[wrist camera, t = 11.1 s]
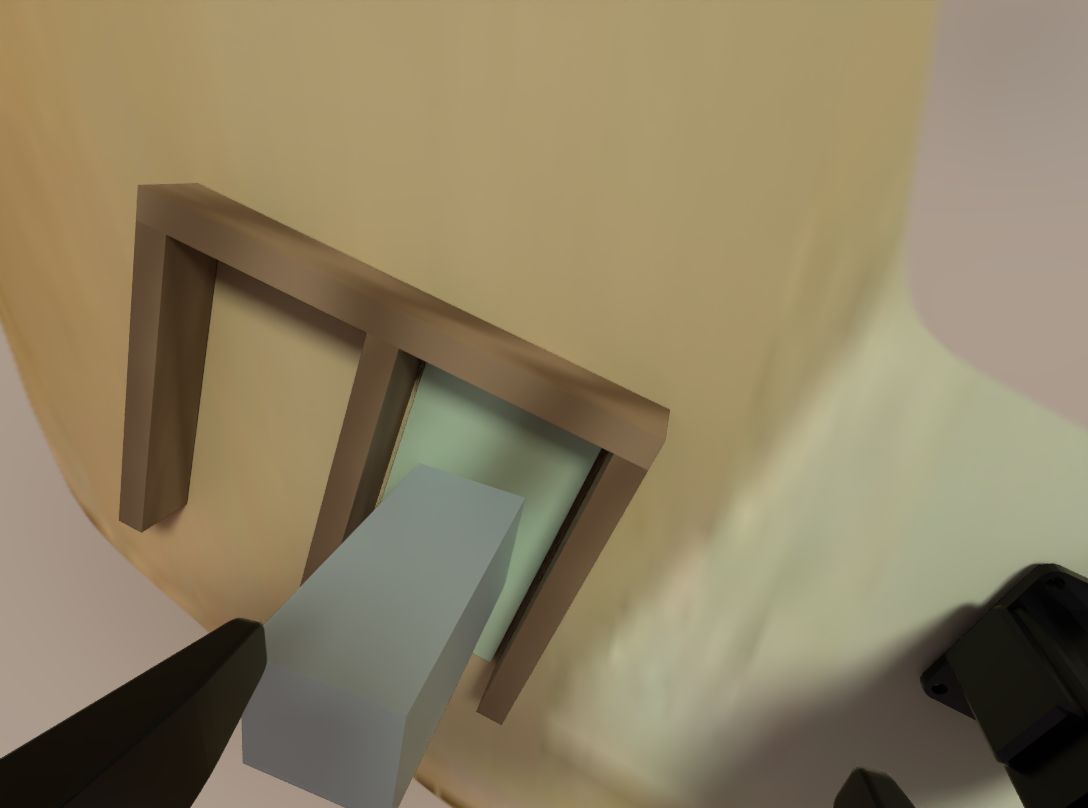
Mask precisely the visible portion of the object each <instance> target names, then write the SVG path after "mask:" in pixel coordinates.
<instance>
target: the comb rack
mask: <svg viewBox="0 0 1088 808" xmlns="http://www.w3.org/2000/svg"><path fill="white" fill-rule="evenodd" d="M217 260H219V261H221V262H223V263H225V264H227V265H229V266H231V267H233V268H236V269H238V270H240V271H242V272H244V273H246V274H248V275H250V276H252V277H254V278H256V279H258V280H260V281H262V282H264V283H266V284H268V285H270V286H272V287H274V288H276V289H278V290H280V291H283V292H285V293H287V294H289V295H291V296H293V297H295V298H297V299H299V300H301V301H303V302H305V303H307V304H309V305H311V306H313V307H315V308H317V309H319V310H321V311H323V312H325V313H327V314H330V315H332V316H334V317H336V318H338V319H340V320H342V321H344V322H346V323H348V324H350V325H352V326H354V327H356V328H358V329H360V330H362V331H364V332H366V333H367V334H366V338H365V342H364V346H363V350H362V353H361V357H360V361H359V365H358V369H357V372H356V376H355V380H354V384H353V388H352V391H351V395H350V399H349V403H348V407H347V410H346V414H345V418H344V422H343V426H342V429H341V433H340V437H339V441H338V445H337V448H336V452H335V456H334V460H333V464H332V467H331V471H330V475H329V479H328V483H327V486H326V490H325V494H324V498H323V502H322V505H321V509H320V513H319V517H318V521H317V524H316V528H315V532H314V536H313V540H312V543H311V547H310V551H309V555H308V559H307V562H306V566H305V570H304V574H303V578H302V581H301V585H300V587H301V586H302V585H303V584H304V583H305V581H306V580H307V579H308V578H309V577H310V576H311V575H312V574H313V573H314V572H315V571H316V570H317V569H318V568H319V567H320V566H321V565H322V564H323V563H324V562H325V561H326V560H327V559H328V558H329V557H330V556H331V555H332V554H333V552H334V551H335V550H336V549H337V548H338V547H339V546H340V545H341V544H342V543H343V542H344V541H345V540H346V539H347V538H348V537H349V536H350V535H351V534H352V533H353V532H354V531H355V530H356V529H357V528H358V527H359V526H360V525H361V523H362V522H363V521H364V520H365V519H366V518H367V517H368V516H369V515H370V514H371V513H372V512H373V511H374V508H375V505H376V501H377V498H378V495H379V492H380V489H381V486H382V483H383V479H384V476H385V473H386V470H387V467H388V464H389V461H390V457H391V454H392V451H393V448H394V445H395V442H396V439H397V435H398V432H399V429H400V426H401V423H402V420H403V417H404V413H405V410H406V407H407V404H408V401H409V398H410V395H411V391H412V388H413V385H414V382H415V379H416V376H417V373H418V369H419V366H420V363H421V360H424V361H426V365H425V368H424V371H423V374H422V377H421V380H420V383H419V386H418V389H417V392H416V396H415V399H414V402H413V405H412V408H411V411H410V414H409V417H408V420H407V423H406V426H405V430H404V433H403V436H402V439H401V442H400V445H399V448H398V451H397V454H396V457H395V461H394V464H393V467H392V470H391V473H390V476H389V479H388V482H387V485H386V488H385V491H384V495H383V498H382V501H381V503H382V502H383V501H384V500H385V499H386V498H387V497H388V495H389V494H390V493H391V492H392V491H393V490H394V489H395V488H396V487H397V486H398V485H399V484H400V483H401V482H402V481H403V480H404V479H405V478H406V477H407V476H408V475H409V474H410V473H411V472H412V471H413V470H414V469H415V468H416V466H417V465H418V464H419V463H421V464H424V465H427V466H430V467H433V468H436V469H439V470H442V471H445V472H448V473H451V474H454V475H457V476H460V477H463V478H466V479H469V480H472V481H476V482H479V483H482V484H485V485H488V486H491V487H494V488H497V489H500V490H503V491H506V492H509V493H512V494H515V495H518V496H521V497H524V498H525V501H524V505H523V510H522V514H521V518H520V523H519V527H518V531H517V535H516V540H515V544H514V548H513V553H512V557H511V561H510V565H509V570H508V574H507V578H506V583H505V586H504V588H503V590H502V592H501V594H500V596H499V598H498V600H497V602H496V605H495V607H494V609H493V611H492V613H491V615H490V617H489V619H488V621H487V623H486V625H485V627H484V630H483V632H482V634H481V636H480V638H479V640H478V642H477V644H476V646H475V648H474V650H473V652H472V653H473V654H475V655H477V656H479V657H481V658H483V659H484V660H486V661H488V662H491V660H492V658H493V656H494V654H495V652H496V651H497V649H498V647H499V645H500V643H501V641H502V639H503V637H504V635H505V633H506V631H507V629H508V627H509V626H510V624H511V622H512V620H513V618H514V616H515V614H516V612H517V610H518V608H519V606H520V604H521V602H522V601H523V599H524V597H525V595H526V593H527V591H528V589H529V587H530V585H531V583H532V581H533V579H534V577H535V575H536V574H537V572H538V570H539V568H540V566H541V564H542V562H543V560H544V558H545V556H546V554H547V552H548V550H549V549H550V547H551V545H552V543H553V541H554V539H555V537H556V535H557V533H558V531H559V529H560V527H561V525H562V523H563V522H564V520H565V518H566V516H567V514H568V512H569V510H570V508H571V506H572V504H573V502H574V500H575V498H576V497H577V495H578V493H579V491H580V489H581V487H582V485H583V483H584V481H585V479H586V477H587V475H588V473H589V471H590V470H591V468H592V466H593V464H594V462H595V460H596V458H597V456H598V454H599V452H600V450H601V448H603V449H605V450H607V451H609V452H608V454H607V455H606V457H605V459H604V461H603V463H602V465H601V467H600V469H599V471H598V473H597V474H596V476H595V478H594V480H593V482H592V484H591V486H590V488H589V490H588V491H587V493H586V495H585V497H584V499H583V501H582V503H581V505H580V507H579V509H578V510H577V512H576V514H575V516H574V518H573V520H572V522H571V524H570V526H569V527H568V529H567V531H566V533H565V535H564V537H563V539H562V541H561V543H560V545H559V546H558V548H557V550H556V552H555V554H554V556H553V558H552V560H551V562H550V563H549V565H548V567H547V569H546V571H545V573H544V575H543V577H542V579H541V581H540V582H539V584H538V586H537V588H536V590H535V592H534V594H533V596H532V598H531V599H530V601H529V603H528V605H527V607H526V609H525V611H524V613H523V615H522V617H521V618H520V620H519V622H518V624H517V626H516V628H515V630H514V632H513V634H512V635H511V637H510V639H509V641H508V643H507V645H506V647H505V649H504V651H503V653H502V654H501V656H500V658H499V660H498V662H497V664H496V666H495V668H494V670H493V673H492V675H491V678H490V680H489V682H488V685H487V687H486V690H485V692H484V694H483V697H482V699H481V701H480V704H479V706H478V709H477V711H476V712H478V713H480V714H482V715H484V716H486V717H487V718H489V719H491V720H493V721H495V722H497V723H499V724H500V725H502V723H503V721H504V720H505V718H506V716H507V714H508V713H509V711H510V709H511V707H512V706H513V704H514V702H515V701H516V699H517V697H518V695H519V694H520V692H521V690H522V688H523V687H524V685H525V683H526V681H527V680H528V678H529V676H530V675H531V673H532V671H533V669H534V668H535V666H536V664H537V662H538V661H539V659H540V657H541V655H542V654H543V652H544V650H545V649H546V647H547V645H548V643H549V642H550V640H551V638H552V636H553V635H554V633H555V631H556V629H557V628H558V626H559V624H560V622H561V621H562V619H563V617H564V616H565V614H566V612H567V610H568V609H569V607H570V605H571V603H572V602H573V600H574V598H575V596H576V595H577V593H578V591H579V590H580V588H581V586H582V584H583V583H584V581H585V579H586V577H587V576H588V574H589V572H590V570H591V569H592V567H593V565H594V564H595V562H596V560H597V558H598V557H599V555H600V553H601V551H602V550H603V548H604V546H605V544H606V543H607V541H608V539H609V538H610V536H611V534H612V532H613V531H614V529H615V527H616V525H617V524H618V522H619V520H620V518H621V517H622V515H623V513H624V512H625V510H626V508H627V506H628V505H629V503H630V501H631V499H632V498H633V496H634V494H635V492H636V491H637V489H638V487H639V486H640V484H641V482H642V480H643V479H644V477H645V475H646V473H647V472H648V470H649V468H650V466H651V465H652V463H653V461H654V460H655V458H656V456H657V454H658V453H659V451H660V449H661V447H662V446H663V444H664V442H665V440H666V434H667V427H668V420H669V413H670V410H669V409H667V408H665V407H663V406H661V405H659V404H657V403H655V402H653V401H650V400H648V399H646V398H644V397H642V396H640V395H638V394H636V393H634V392H632V391H630V390H627V389H625V388H623V387H621V386H619V385H617V384H615V383H613V382H611V381H609V380H607V379H605V378H602V377H600V376H598V375H596V374H594V373H592V372H590V371H588V370H586V369H584V368H582V367H580V366H577V365H575V364H573V363H571V362H569V361H567V360H565V359H563V358H561V357H559V356H557V355H555V354H552V353H550V352H548V351H546V350H544V349H542V348H540V347H538V346H536V345H534V344H532V343H529V342H527V341H525V340H523V339H521V338H519V337H517V336H515V335H513V334H511V333H509V332H507V331H504V330H502V329H500V328H498V327H496V326H494V325H492V324H490V323H488V322H486V321H484V320H482V319H479V318H477V317H475V316H473V315H471V314H469V313H467V312H465V311H463V310H461V309H459V308H457V307H454V306H452V305H450V304H448V303H446V302H444V301H442V300H440V299H438V298H436V297H434V296H432V295H429V294H427V293H425V292H423V291H421V290H419V289H417V288H415V287H413V286H411V285H409V284H406V283H404V282H402V281H400V280H398V279H396V278H394V277H392V276H390V275H388V274H386V273H384V272H381V271H379V270H377V269H375V268H373V267H371V266H369V265H367V264H365V263H363V262H361V261H359V260H356V259H354V258H352V257H350V256H348V255H346V254H344V253H342V252H340V251H338V250H336V249H334V248H331V247H329V246H327V245H325V244H323V243H321V242H319V241H317V240H315V239H313V238H311V237H309V236H306V235H304V234H302V233H300V232H298V231H296V230H294V229H292V228H290V227H288V226H286V225H283V224H281V223H279V222H277V221H275V220H273V219H271V218H269V217H267V216H265V215H263V214H261V213H258V212H256V211H254V210H252V209H250V208H248V207H246V206H244V205H242V204H240V203H238V202H236V201H233V200H231V199H229V198H227V197H225V196H223V195H221V194H219V193H217V192H215V191H213V190H211V189H208V188H206V187H204V186H202V185H200V184H198V183H188V184H156V185H138V194H137V211H136V229H135V247H134V264H133V282H132V299H131V317H130V335H129V352H128V370H127V387H126V405H125V423H124V440H123V458H122V475H121V493H120V511H119V521H121V522H123V523H125V524H126V525H128V526H130V527H132V528H134V529H136V530H138V531H139V532H141V533H142V532H143V531H145V530H147V529H148V528H150V527H151V526H153V525H154V524H156V523H157V522H159V521H160V520H162V519H164V518H165V517H167V516H168V515H170V514H171V513H173V512H174V511H176V510H177V509H179V508H180V507H182V506H184V505H185V504H187V498H188V490H189V482H190V474H191V466H192V458H193V450H194V442H195V434H196V426H197V418H198V410H199V402H200V394H201V386H202V378H203V370H204V362H205V354H206V346H207V338H208V330H209V322H210V314H211V306H212V298H213V290H214V282H215V274H216V266H217Z"/></svg>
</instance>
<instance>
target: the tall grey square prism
mask: <svg viewBox="0 0 1088 808" xmlns="http://www.w3.org/2000/svg"><path fill="white" fill-rule="evenodd" d="M524 501H525V498H524V497H521V496H518V495H515V494H512V493H509V492H506V491H503V490H500V489H497V488H494V487H491V486H488V485H485V484H482V483H479V482H476V481H472V480H469V479H466V478H463V477H460V476H457V475H454V474H451V473H448V472H445V471H442V470H439V469H436V468H433V467H430V466H427V465H424V464H421V463H419V464H418V465H417V466H416V468H415V469H414V470H413V471H412V472H411V473H410V474H409V475H408V476H407V477H406V478H405V479H404V480H403V481H402V482H401V483H400V484H399V485H398V486H397V487H396V488H395V489H394V490H393V491H392V492H391V493H390V494H389V495H388V497H387V498H386V499H385V500H384V501H383V502H382V503H381V504H380V505H379V506H378V507H377V508H376V509H375V510H374V511H373V512H372V513H371V514H370V515H369V516H368V517H367V518H366V519H365V520H364V521H363V522H362V523H361V525H360V526H359V527H358V528H357V529H356V530H355V531H354V532H353V533H352V534H351V535H350V536H349V537H348V538H347V539H346V540H345V541H344V542H343V543H342V544H341V545H340V546H339V547H338V548H337V549H336V550H335V551H334V552H333V554H332V555H331V556H330V557H329V558H328V559H327V560H326V561H325V562H324V563H323V564H322V565H321V566H320V567H319V568H318V569H317V570H316V571H315V572H314V573H313V574H312V575H311V576H310V577H309V578H308V579H307V580H306V581H305V583H304V584H303V585H302V586H301V587H300V588H299V589H298V590H297V591H296V592H295V593H294V594H293V595H292V596H291V597H290V598H289V599H288V600H287V601H286V602H285V603H284V604H283V605H282V606H281V607H280V608H279V609H278V610H277V612H276V613H275V614H274V615H273V616H272V617H271V618H270V619H269V620H268V621H267V622H266V623H265V624H264V625H263V626H264V629H265V639H266V649H267V664H266V668H265V671H264V673H263V676H262V678H261V680H260V681H259V683H258V685H257V687H256V689H255V691H254V693H253V695H252V697H251V699H250V701H249V703H248V705H247V707H246V709H245V710H244V712H243V714H242V749H243V763H244V764H246V765H249V766H251V767H253V768H255V769H258V770H260V771H262V772H265V773H267V774H269V775H272V776H274V777H276V778H279V779H281V780H283V781H285V782H288V783H290V784H292V785H294V786H297V787H299V788H301V789H304V790H306V791H308V792H311V793H313V794H315V795H317V796H320V797H322V798H325V799H327V800H329V801H331V802H334V803H336V804H338V805H340V806H343V807H345V808H398V807H399V805H400V803H401V800H402V798H403V796H404V794H405V792H406V790H407V788H408V786H409V784H410V782H411V780H412V778H413V776H414V773H415V771H416V769H417V767H418V765H419V763H420V761H421V759H422V757H423V755H424V753H425V750H426V748H427V746H428V744H429V742H430V740H431V738H432V736H433V734H434V732H435V730H436V728H437V725H438V723H439V721H440V719H441V717H442V715H443V713H444V711H445V709H446V707H447V705H448V703H449V700H450V698H451V696H452V694H453V692H454V690H455V688H456V686H457V684H458V682H459V680H460V678H461V675H462V673H463V671H464V669H465V667H466V665H467V663H468V661H469V659H470V657H471V655H472V652H473V650H474V648H475V646H476V644H477V642H478V640H479V638H480V636H481V634H482V632H483V630H484V627H485V625H486V623H487V621H488V619H489V617H490V615H491V613H492V611H493V609H494V607H495V605H496V602H497V600H498V598H499V596H500V594H501V592H502V590H503V588H504V586H505V583H506V578H507V574H508V570H509V565H510V561H511V557H512V553H513V548H514V544H515V540H516V535H517V531H518V527H519V523H520V518H521V514H522V510H523V505H524Z"/></svg>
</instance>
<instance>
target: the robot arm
mask: <svg viewBox="0 0 1088 808" xmlns="http://www.w3.org/2000/svg"><path fill="white" fill-rule="evenodd" d="M1051 578H1057V579H1056V580H1055V581H1053V582H1050V583H1046V582H1047V580H1049V579H1051ZM266 664H267V649H266V639H265V629H264V626H263V625H262V624H261V623H260V622H257V621H252V620H248V619H244V618H236V619H233V620H231V621H229V622H227V623H226V624H224V625H222V626H221V627H219V628H217V629H216V630H214V631H212V632H211V633H209V634H207V635H206V636H204V637H202V638H201V639H199V640H197V641H196V642H194V643H192V644H191V645H189V646H187V647H186V648H184V649H182V650H181V651H179V652H177V653H176V654H174V655H172V656H171V657H169V658H167V659H166V660H164V661H162V662H161V663H159V664H158V665H156V666H154V667H153V668H151V669H149V670H147V671H146V672H144V673H142V674H141V675H139V676H137V677H136V678H134V679H132V680H131V681H129V682H127V683H126V684H124V685H122V686H121V687H119V688H117V689H116V690H114V691H112V692H111V693H109V694H107V695H106V696H104V697H102V698H101V699H99V700H97V701H95V702H94V703H92V704H90V705H89V706H87V707H85V708H84V709H82V710H80V711H79V712H77V713H76V714H74V715H72V716H70V717H69V718H67V719H65V720H64V721H62V722H61V723H59V724H57V725H56V726H54V727H52V728H50V729H49V730H47V731H45V732H44V733H42V734H40V735H39V736H37V737H36V738H34V739H32V740H30V741H29V742H27V743H25V744H24V745H22V746H21V747H19V748H17V749H15V750H14V751H12V752H11V753H9V754H7V755H5V756H4V757H2V758H0V808H190V807H191V806H192V804H193V803H194V801H195V799H196V798H197V796H198V795H199V793H200V792H201V790H202V788H203V786H204V785H205V783H206V782H207V780H208V778H209V777H210V775H211V773H212V772H213V770H214V768H215V766H216V764H217V762H218V761H219V759H220V757H221V755H222V753H223V751H224V749H225V747H226V745H227V743H228V741H229V739H230V737H231V735H232V733H233V732H234V730H235V728H236V726H237V724H238V722H239V720H240V718H241V716H242V714H243V712H244V710H245V709H246V707H247V705H248V703H249V701H250V699H251V697H252V695H253V693H254V691H255V689H256V687H257V685H258V683H259V681H260V680H261V678H262V676H263V673H264V671H265V668H266ZM920 682H921V685H922V687H923V689H924V691H925V693H926V694H927V695H928V696H929V697H931V698H933V699H935V700H937V701H939V702H941V703H943V704H945V705H947V706H949V707H951V708H953V709H955V710H957V711H959V712H961V713H963V714H965V715H967V716H969V717H971V718H973V719H975V720H976V721H977V723H978V725H979V727H980V729H981V731H982V733H983V735H984V737H985V739H986V741H987V743H988V745H989V747H990V749H991V751H992V753H993V755H994V757H995V759H996V760H997V761H998V762H999V763H1001V764H1003V766H1004V768H1005V770H1006V772H1007V774H1008V776H1009V778H1010V780H1011V782H1012V784H1013V786H1014V788H1015V790H1016V792H1017V794H1018V796H1019V798H1020V800H1021V802H1022V804H1023V806H1024V808H1088V578H1085V577H1083V576H1081V575H1079V574H1077V573H1075V572H1073V571H1071V570H1069V569H1067V568H1064V567H1062V566H1060V565H1057V564H1043V565H1039V566H1038V567H1036V568H1035V569H1033V570H1032V571H1031V572H1030V573H1029V574H1028V575H1027V576H1026V577H1025V578H1024V579H1023V580H1022V581H1021V582H1020V583H1018V584H1017V585H1016V586H1015V587H1014V588H1013V589H1012V590H1011V591H1010V592H1009V593H1008V594H1007V595H1006V596H1005V597H1004V598H1003V599H1001V600H1000V601H999V602H998V603H997V604H996V605H995V606H994V607H993V608H992V609H991V610H990V611H989V612H988V613H987V614H986V615H984V616H983V617H982V618H981V619H980V620H979V621H978V622H977V623H976V624H975V625H974V626H973V627H972V628H971V629H970V630H969V631H968V632H966V633H965V634H964V635H963V636H962V637H961V638H960V639H959V640H958V641H957V642H956V643H955V644H954V645H953V646H952V647H951V648H949V649H948V650H947V651H946V652H945V653H944V654H943V655H942V656H941V657H940V658H939V659H938V660H937V661H936V662H935V663H934V664H933V665H931V666H930V667H929V668H928V669H927V670H926V671H925V672H924V673H923V674H922V676H921V677H920ZM935 684H940V685H936V686H935ZM833 808H915V806H914V805H913V804H912V803H911V801H910V800H909V799H908V798H907V796H906V795H905V794H904V793H903V791H902V790H901V789H900V788H899V786H898V785H897V784H896V782H895V781H894V780H893V779H892V778H891V777H890V776H889V775H887V774H886V773H883V772H880V771H876V770H872V769H868V768H864V767H857V768H855V769H854V770H853V771H852V772H851V774H850V775H849V777H848V779H847V780H846V782H845V783H844V785H843V786H842V788H841V790H840V791H839V793H838V794H837V796H836V798H835V801H834V806H833Z"/></svg>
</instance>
